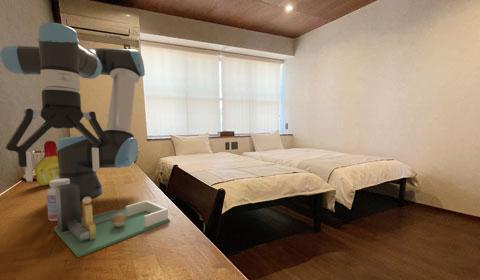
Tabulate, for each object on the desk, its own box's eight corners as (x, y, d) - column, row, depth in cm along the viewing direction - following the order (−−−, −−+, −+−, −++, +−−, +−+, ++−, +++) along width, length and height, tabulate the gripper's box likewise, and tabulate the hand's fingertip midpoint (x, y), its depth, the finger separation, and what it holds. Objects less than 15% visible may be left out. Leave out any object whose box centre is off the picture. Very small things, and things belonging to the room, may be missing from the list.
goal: (125, 217, 66) (125, 206, 65) (147, 210, 71) (146, 200, 71) (146, 229, 58) (145, 216, 58) (168, 220, 64) (167, 208, 63)
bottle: (37, 188, 96) (33, 142, 95) (35, 185, 100) (32, 141, 99) (71, 182, 105) (68, 140, 104) (68, 180, 109) (65, 139, 108)
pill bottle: (45, 223, 62) (42, 184, 61) (51, 215, 67) (49, 179, 66) (72, 219, 65) (70, 181, 64) (76, 211, 70) (74, 176, 69)
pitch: (54, 230, 58) (54, 226, 58) (137, 206, 75) (137, 203, 75) (77, 257, 46) (77, 252, 46) (169, 221, 63) (169, 217, 63)
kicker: (58, 227, 57) (55, 186, 57) (78, 222, 61) (76, 182, 60) (74, 245, 49) (71, 197, 48) (96, 237, 52) (94, 192, 52)
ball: (109, 227, 58) (108, 213, 58) (123, 222, 61) (122, 209, 61) (115, 231, 56) (114, 217, 56) (129, 226, 59) (128, 213, 59)
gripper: (-14, 80, 43) (-6, 188, 44) (120, 95, 62) (123, 169, 64) (-16, 85, 48) (-10, 182, 49) (109, 97, 67) (112, 166, 68)
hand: (65, 175), depth 56 cm, fingers open, 13 cm apart
